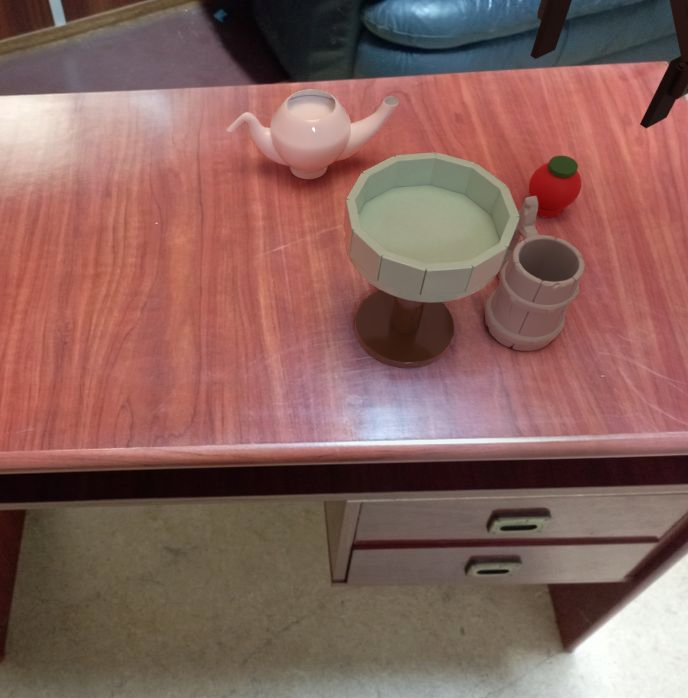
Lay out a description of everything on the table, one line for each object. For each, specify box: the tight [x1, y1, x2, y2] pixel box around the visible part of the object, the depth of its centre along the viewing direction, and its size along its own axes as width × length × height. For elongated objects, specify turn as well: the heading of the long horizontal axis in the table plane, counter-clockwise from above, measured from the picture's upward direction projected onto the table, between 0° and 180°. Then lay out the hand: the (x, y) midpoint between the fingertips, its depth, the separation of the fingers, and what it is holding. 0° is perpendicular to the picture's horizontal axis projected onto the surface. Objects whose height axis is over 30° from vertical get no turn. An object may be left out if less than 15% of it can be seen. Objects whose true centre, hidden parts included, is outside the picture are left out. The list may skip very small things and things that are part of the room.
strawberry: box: [528, 155, 582, 218], centre depth 81 cm, size 5×5×6 cm
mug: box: [484, 196, 586, 352], centre depth 71 cm, size 8×12×12 cm, turn 7°
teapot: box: [225, 88, 400, 180], centre depth 87 cm, size 10×20×9 cm, turn 90°
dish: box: [342, 151, 520, 369], centre depth 68 cm, size 14×14×17 cm
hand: (595, 85), depth 70 cm, fingers open, 13 cm apart
